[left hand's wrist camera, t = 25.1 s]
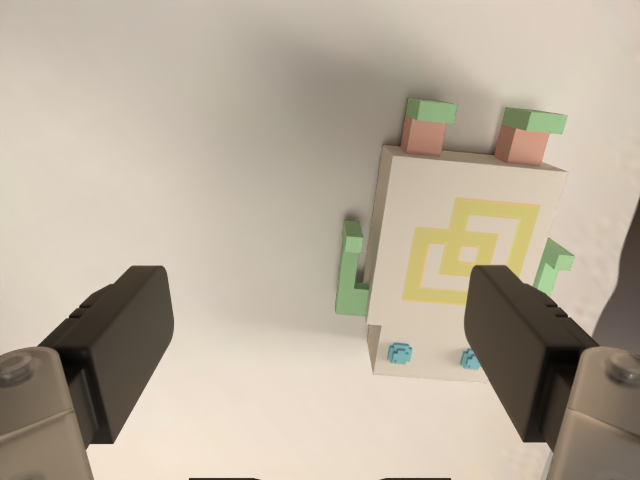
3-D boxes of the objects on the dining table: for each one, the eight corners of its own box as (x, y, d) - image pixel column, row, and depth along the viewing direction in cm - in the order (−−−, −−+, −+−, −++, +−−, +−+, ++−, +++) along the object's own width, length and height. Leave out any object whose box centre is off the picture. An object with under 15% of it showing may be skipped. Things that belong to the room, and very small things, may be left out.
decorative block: (532, 391, 41) (330, 376, 40) (505, 351, 47) (328, 337, 46) (628, 121, 31) (365, 95, 31) (579, 114, 37) (357, 92, 37)
